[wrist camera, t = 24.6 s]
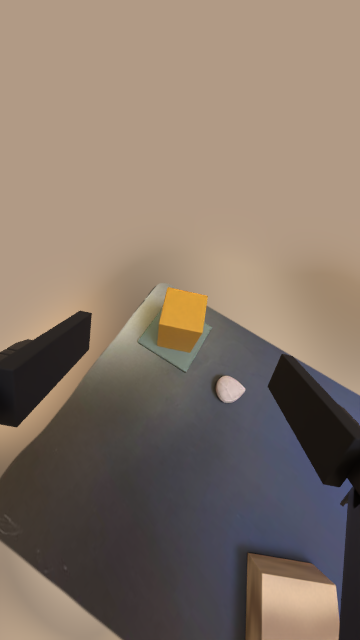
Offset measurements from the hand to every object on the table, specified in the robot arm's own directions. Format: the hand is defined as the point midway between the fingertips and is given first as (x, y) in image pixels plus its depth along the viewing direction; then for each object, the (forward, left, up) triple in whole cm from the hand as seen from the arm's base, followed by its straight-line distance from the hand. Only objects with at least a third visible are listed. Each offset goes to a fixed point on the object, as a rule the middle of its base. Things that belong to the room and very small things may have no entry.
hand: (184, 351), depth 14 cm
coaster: (+4, +9, -23) cm, 25 cm away
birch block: (+9, -29, -23) cm, 38 cm away
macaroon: (+11, -3, -23) cm, 25 cm away
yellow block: (+4, +9, -22) cm, 24 cm away
